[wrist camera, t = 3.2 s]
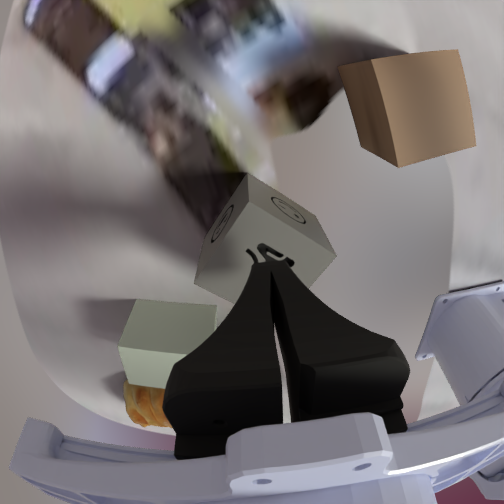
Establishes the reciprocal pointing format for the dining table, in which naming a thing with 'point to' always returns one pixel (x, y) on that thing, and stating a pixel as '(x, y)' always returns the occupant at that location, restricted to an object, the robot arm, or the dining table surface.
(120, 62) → the dining table surface
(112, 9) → the dining table surface
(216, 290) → the grey symbol cube
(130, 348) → the grey-green block
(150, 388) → the pastry
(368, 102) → the walnut block
